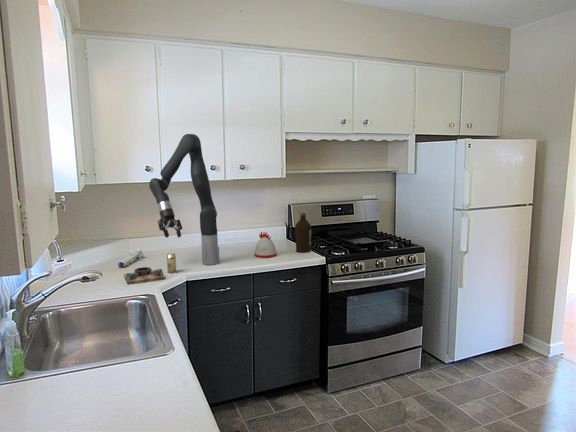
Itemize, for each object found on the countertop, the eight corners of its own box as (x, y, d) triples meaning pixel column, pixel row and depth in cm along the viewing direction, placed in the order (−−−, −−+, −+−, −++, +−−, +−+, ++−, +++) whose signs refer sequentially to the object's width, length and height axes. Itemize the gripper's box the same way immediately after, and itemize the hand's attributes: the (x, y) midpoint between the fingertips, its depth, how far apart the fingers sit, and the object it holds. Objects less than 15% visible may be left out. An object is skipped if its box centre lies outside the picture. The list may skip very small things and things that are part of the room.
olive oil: (295, 253, 264) (295, 214, 261) (294, 249, 275) (294, 212, 271) (312, 252, 265) (312, 214, 261) (310, 249, 275) (310, 212, 272)
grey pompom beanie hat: (261, 252, 269) (260, 229, 267) (280, 254, 263) (279, 231, 261) (250, 257, 256) (249, 233, 254) (269, 259, 250) (269, 234, 248)
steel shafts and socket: (158, 269, 223) (158, 264, 223) (163, 275, 212) (163, 270, 211) (124, 274, 215) (123, 269, 215) (127, 280, 204) (127, 275, 203)
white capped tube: (116, 261, 233) (136, 246, 257) (117, 272, 235) (137, 256, 259) (124, 261, 233) (144, 246, 256) (126, 272, 234) (145, 256, 258)
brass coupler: (175, 270, 227) (174, 252, 225) (177, 272, 223) (176, 254, 221) (166, 271, 224) (165, 253, 223) (168, 273, 220) (167, 255, 219)
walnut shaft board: (159, 272, 224) (158, 269, 224) (165, 279, 210) (165, 276, 210) (123, 276, 216) (123, 274, 216) (127, 284, 202) (127, 281, 202)
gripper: (159, 207, 225) (167, 234, 221) (179, 208, 237) (187, 234, 233) (151, 213, 229) (159, 239, 225) (171, 214, 241) (179, 239, 237)
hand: (173, 236), depth 229 cm, fingers open, 8 cm apart
